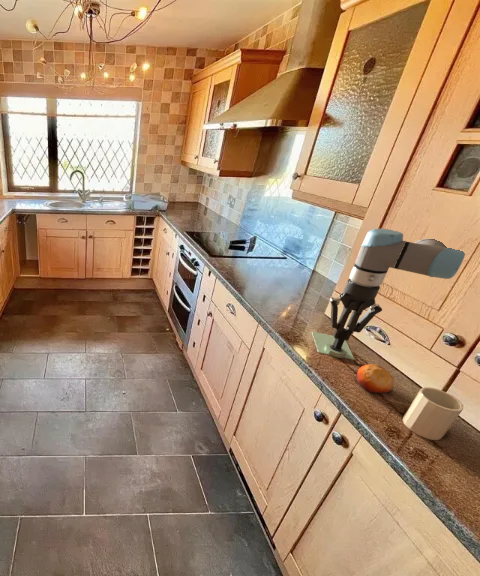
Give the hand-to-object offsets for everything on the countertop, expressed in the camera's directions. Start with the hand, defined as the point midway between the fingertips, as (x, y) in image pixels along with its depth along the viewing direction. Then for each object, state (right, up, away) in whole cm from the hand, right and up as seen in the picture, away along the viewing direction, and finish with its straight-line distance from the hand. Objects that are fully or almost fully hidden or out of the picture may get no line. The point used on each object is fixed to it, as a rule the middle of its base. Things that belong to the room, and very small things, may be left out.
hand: (336, 346), depth 101 cm
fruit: (+1, -10, -11) cm, 15 cm away
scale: (+2, -2, +5) cm, 6 cm away
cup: (+3, -16, -24) cm, 29 cm away
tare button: (0, -2, +1) cm, 2 cm away
